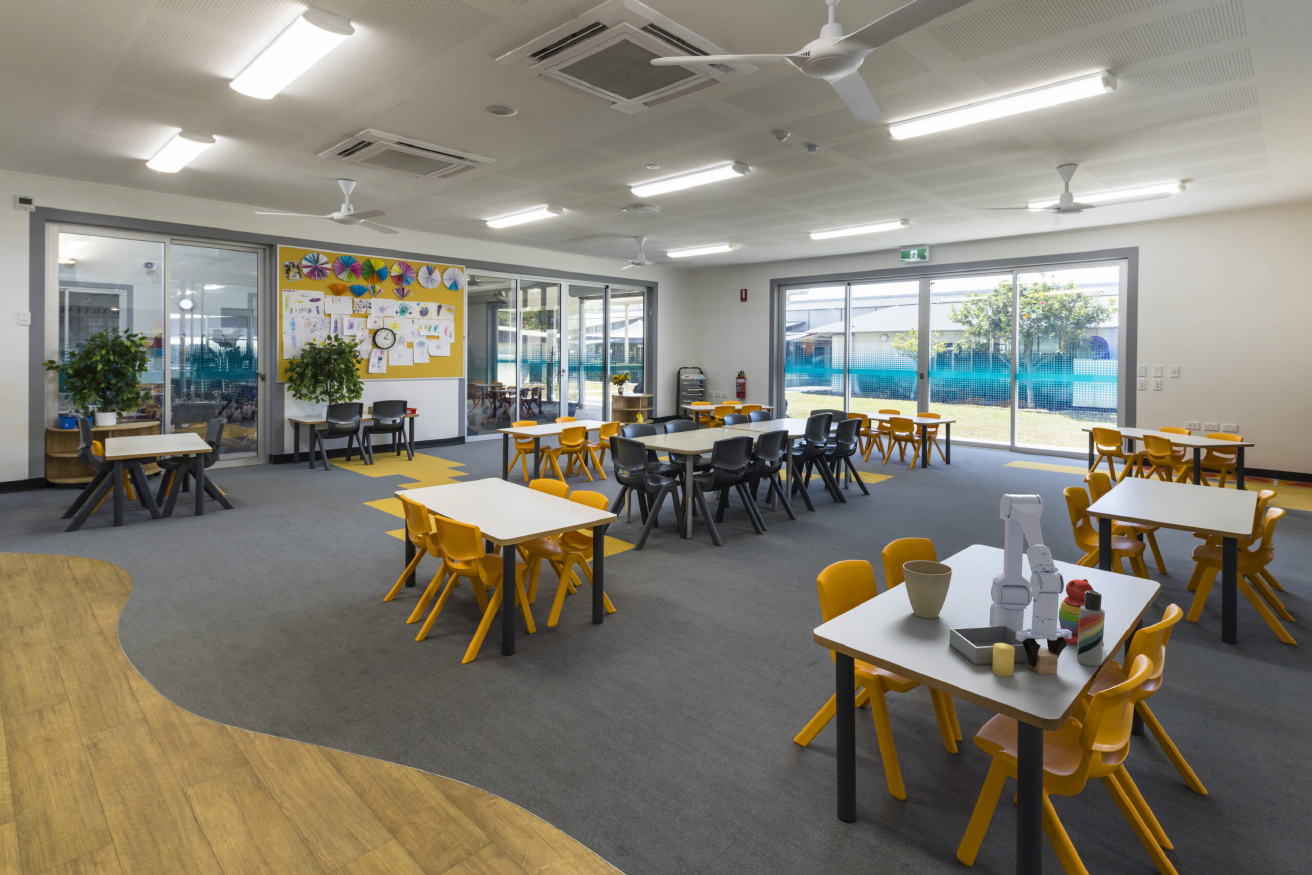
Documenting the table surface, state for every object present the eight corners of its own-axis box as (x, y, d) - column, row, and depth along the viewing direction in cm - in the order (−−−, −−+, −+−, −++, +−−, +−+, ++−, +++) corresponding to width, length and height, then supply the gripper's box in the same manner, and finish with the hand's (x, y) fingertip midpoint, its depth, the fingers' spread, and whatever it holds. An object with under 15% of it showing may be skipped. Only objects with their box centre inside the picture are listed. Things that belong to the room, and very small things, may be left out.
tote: (975, 665, 181) (975, 647, 181) (949, 644, 194) (950, 628, 194) (1034, 661, 183) (1035, 644, 182) (1005, 641, 196) (1006, 625, 195)
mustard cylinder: (988, 668, 180) (989, 643, 179) (1005, 667, 180) (1007, 642, 179) (999, 676, 175) (1000, 651, 174) (1017, 675, 175) (1018, 650, 174)
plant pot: (920, 602, 227) (922, 557, 226) (960, 617, 215) (962, 569, 213) (891, 611, 220) (892, 565, 218) (930, 627, 207) (932, 577, 205)
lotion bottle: (1073, 656, 186) (1078, 587, 183) (1097, 658, 184) (1102, 589, 182) (1080, 665, 180) (1084, 594, 178) (1104, 668, 179) (1109, 596, 176)
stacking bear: (1073, 646, 192) (1077, 587, 190) (1047, 632, 202) (1051, 575, 200) (1106, 643, 194) (1110, 584, 192) (1079, 630, 204) (1083, 573, 202)
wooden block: (1026, 665, 181) (1027, 648, 180) (1044, 664, 181) (1045, 647, 181) (1039, 674, 176) (1040, 656, 175) (1056, 673, 176) (1057, 655, 176)
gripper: (1028, 622, 172) (1026, 672, 174) (1081, 620, 173) (1078, 669, 175) (1011, 612, 179) (1009, 660, 181) (1062, 610, 180) (1059, 657, 182)
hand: (1041, 664), depth 178 cm, fingers closed on wooden block, 5 cm apart
